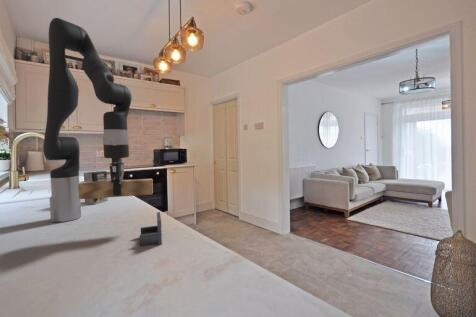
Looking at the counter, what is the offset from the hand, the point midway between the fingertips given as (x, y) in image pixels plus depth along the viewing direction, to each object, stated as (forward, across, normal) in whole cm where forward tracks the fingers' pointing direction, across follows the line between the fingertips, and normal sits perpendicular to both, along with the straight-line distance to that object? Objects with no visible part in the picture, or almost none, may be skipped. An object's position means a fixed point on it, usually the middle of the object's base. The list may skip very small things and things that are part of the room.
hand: (118, 193), depth 79 cm
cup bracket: (+13, +12, +10) cm, 20 cm away
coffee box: (+14, -52, -17) cm, 56 cm away
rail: (+1, 0, 0) cm, 1 cm away
